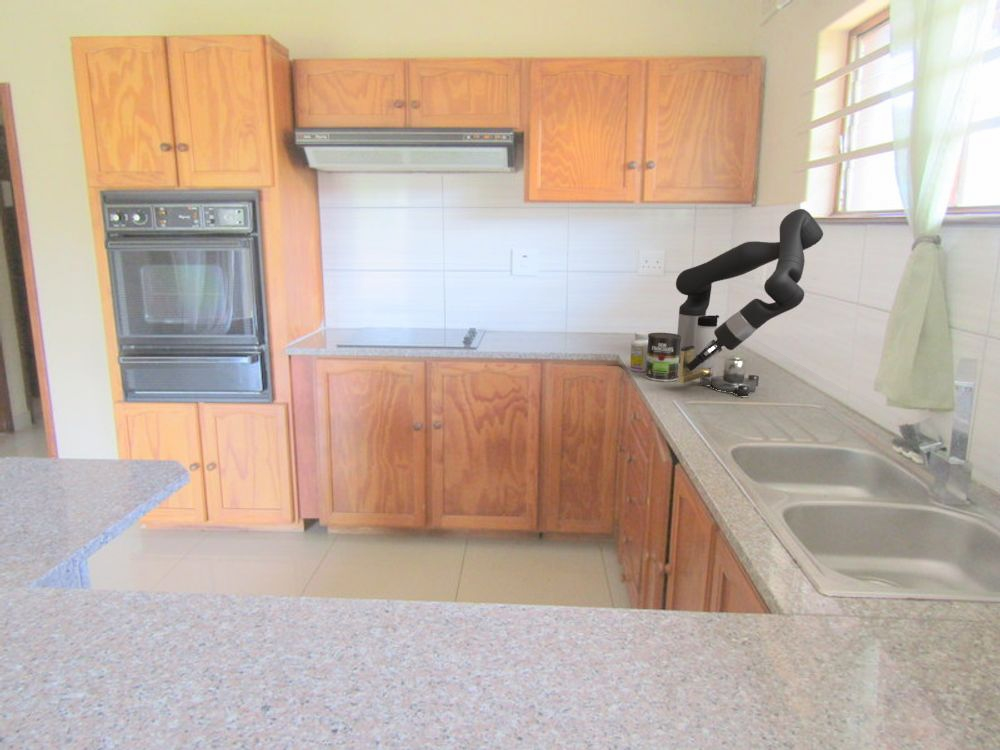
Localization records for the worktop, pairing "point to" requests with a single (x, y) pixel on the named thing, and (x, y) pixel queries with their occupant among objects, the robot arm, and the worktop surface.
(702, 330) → the travel mug
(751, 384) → the levelling base
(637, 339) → the supplement bottle
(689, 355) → the lever
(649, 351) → the coffee can
